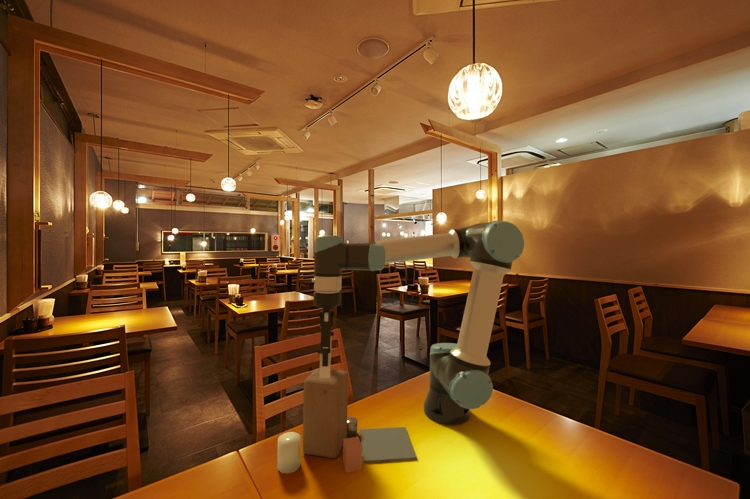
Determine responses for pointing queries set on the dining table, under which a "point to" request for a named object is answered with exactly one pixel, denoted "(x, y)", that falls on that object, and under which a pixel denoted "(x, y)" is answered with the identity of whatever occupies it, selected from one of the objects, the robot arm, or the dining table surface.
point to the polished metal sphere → (351, 427)
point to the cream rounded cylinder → (288, 452)
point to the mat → (386, 445)
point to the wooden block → (325, 413)
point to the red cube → (352, 454)
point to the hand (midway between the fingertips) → (325, 367)
